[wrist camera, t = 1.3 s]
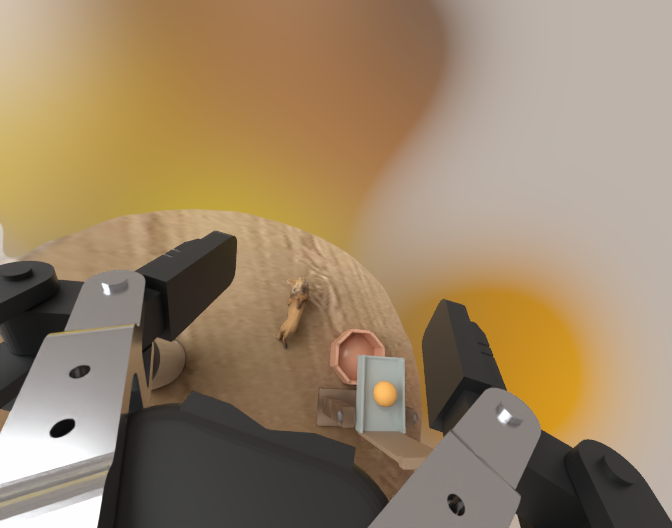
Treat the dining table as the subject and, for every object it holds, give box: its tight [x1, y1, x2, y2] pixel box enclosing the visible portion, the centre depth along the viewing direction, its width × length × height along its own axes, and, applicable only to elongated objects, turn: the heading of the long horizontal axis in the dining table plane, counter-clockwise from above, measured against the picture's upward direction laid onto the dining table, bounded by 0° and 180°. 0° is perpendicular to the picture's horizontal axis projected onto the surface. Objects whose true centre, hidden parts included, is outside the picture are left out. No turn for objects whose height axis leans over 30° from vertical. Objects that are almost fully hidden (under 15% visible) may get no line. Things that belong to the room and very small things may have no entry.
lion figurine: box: [276, 277, 309, 349], centre depth 60 cm, size 15×5×9 cm, turn 174°
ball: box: [373, 381, 397, 407], centre depth 48 cm, size 4×4×4 cm
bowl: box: [329, 329, 385, 385], centre depth 63 cm, size 11×11×5 cm
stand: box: [316, 388, 418, 428], centre depth 55 cm, size 7×15×15 cm, turn 86°
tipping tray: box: [355, 355, 434, 470], centre depth 44 cm, size 13×8×16 cm, turn 176°
